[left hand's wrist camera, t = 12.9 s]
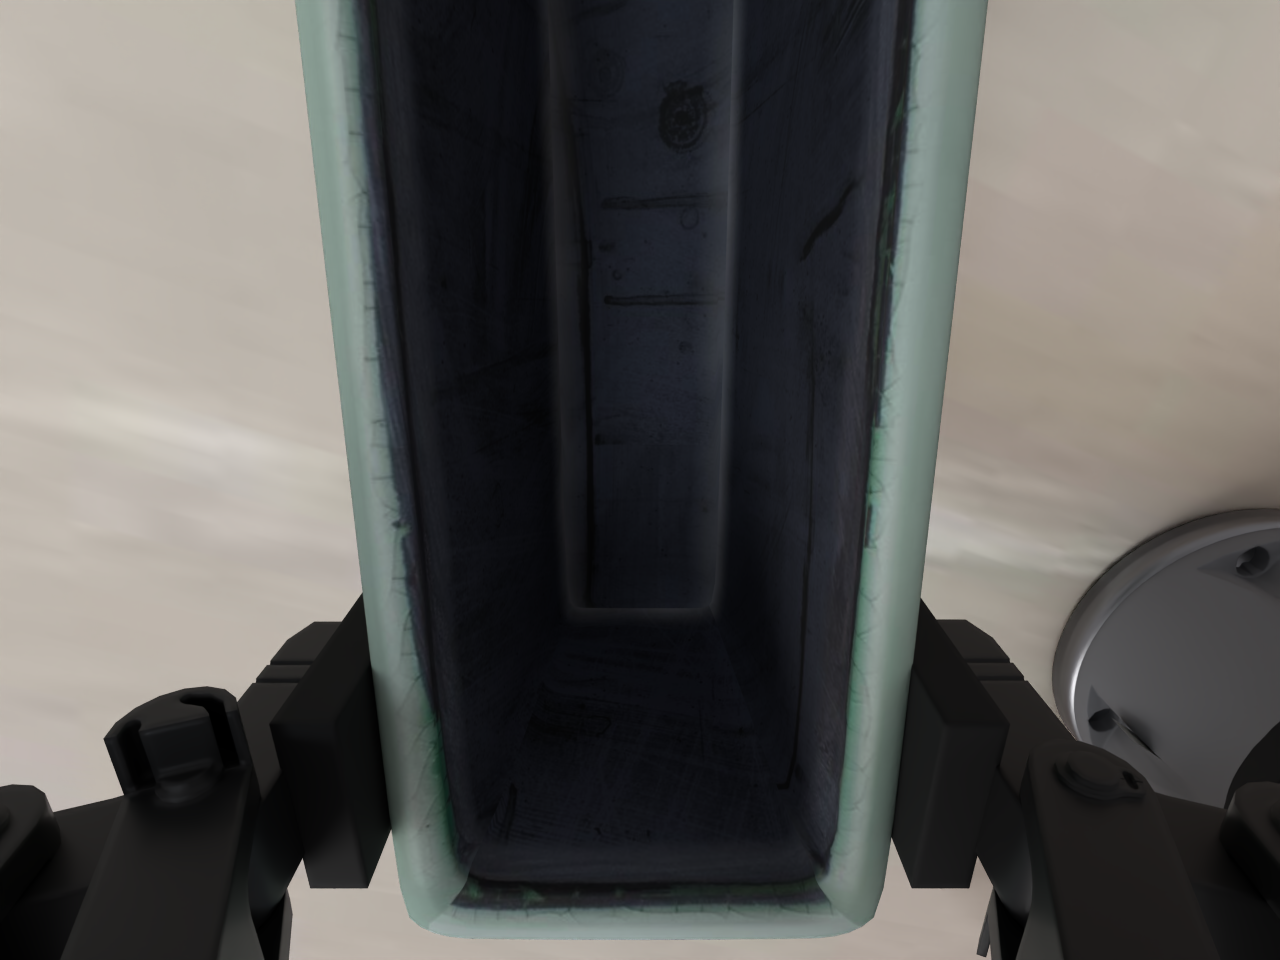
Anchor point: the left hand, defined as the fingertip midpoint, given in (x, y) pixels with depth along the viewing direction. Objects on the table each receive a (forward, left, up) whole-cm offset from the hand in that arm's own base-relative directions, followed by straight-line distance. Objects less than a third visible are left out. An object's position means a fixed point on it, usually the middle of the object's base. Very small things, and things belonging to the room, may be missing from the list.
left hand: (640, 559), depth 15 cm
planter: (+4, -9, -3) cm, 10 cm away
